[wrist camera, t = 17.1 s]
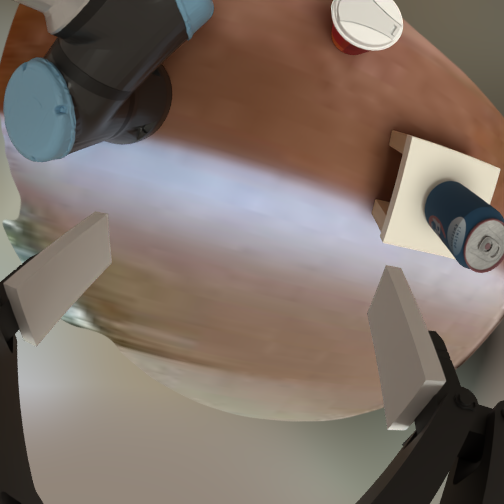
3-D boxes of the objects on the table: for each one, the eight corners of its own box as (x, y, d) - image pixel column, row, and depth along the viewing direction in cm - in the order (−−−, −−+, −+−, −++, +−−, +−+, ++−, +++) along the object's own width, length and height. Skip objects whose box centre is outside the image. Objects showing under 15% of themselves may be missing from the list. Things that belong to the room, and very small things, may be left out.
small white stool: (369, 214, 47) (383, 242, 39) (390, 127, 41) (412, 136, 32) (443, 232, 47) (467, 262, 38) (468, 153, 40) (500, 169, 31)
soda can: (411, 214, 36) (446, 261, 26) (438, 167, 33) (485, 200, 23) (449, 238, 37) (488, 287, 26) (475, 195, 33) (524, 234, 23)
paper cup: (386, 33, 34) (418, 11, 22) (361, 72, 38) (385, 63, 26) (338, 3, 33) (352, -30, 21) (313, 42, 37) (317, 21, 25)
